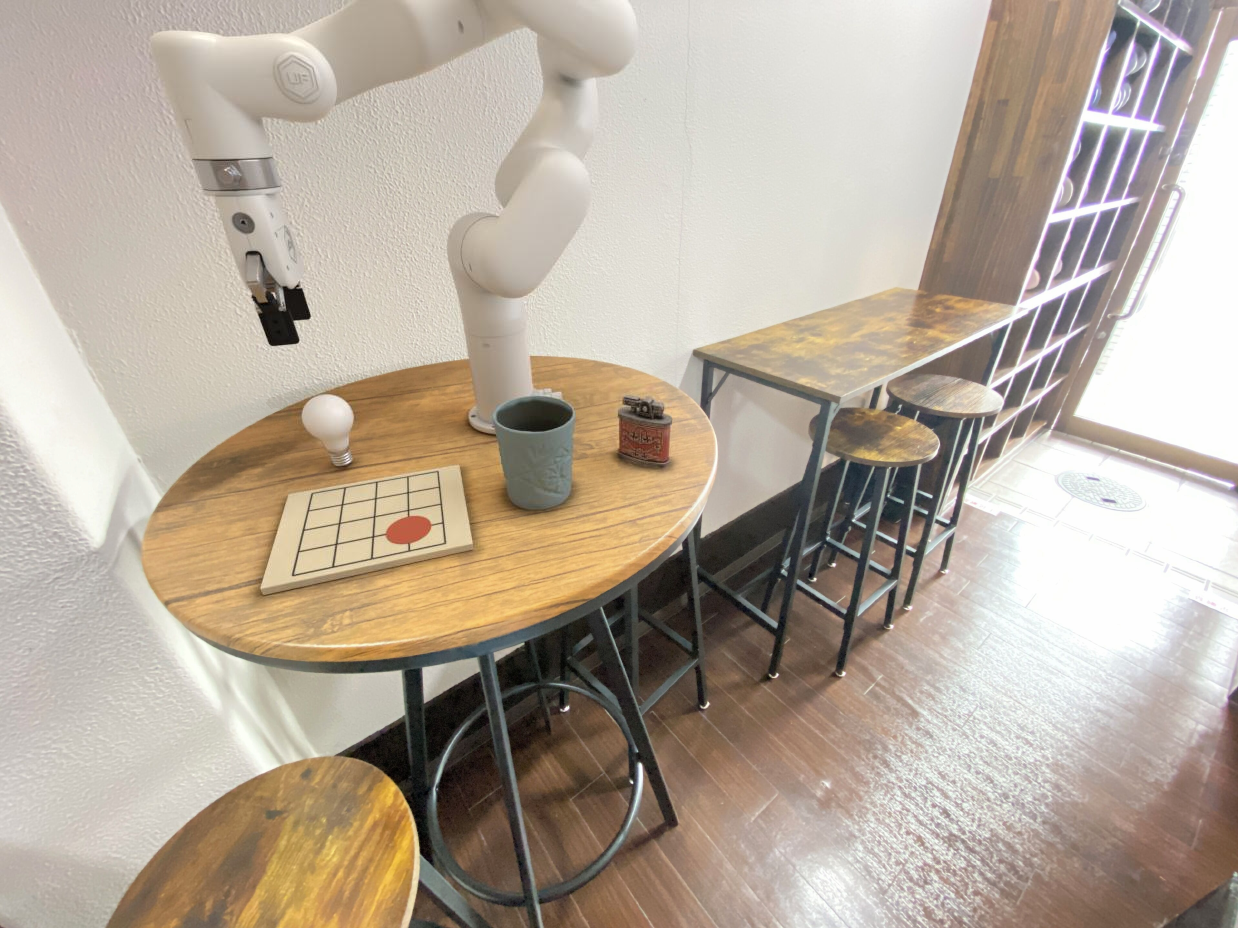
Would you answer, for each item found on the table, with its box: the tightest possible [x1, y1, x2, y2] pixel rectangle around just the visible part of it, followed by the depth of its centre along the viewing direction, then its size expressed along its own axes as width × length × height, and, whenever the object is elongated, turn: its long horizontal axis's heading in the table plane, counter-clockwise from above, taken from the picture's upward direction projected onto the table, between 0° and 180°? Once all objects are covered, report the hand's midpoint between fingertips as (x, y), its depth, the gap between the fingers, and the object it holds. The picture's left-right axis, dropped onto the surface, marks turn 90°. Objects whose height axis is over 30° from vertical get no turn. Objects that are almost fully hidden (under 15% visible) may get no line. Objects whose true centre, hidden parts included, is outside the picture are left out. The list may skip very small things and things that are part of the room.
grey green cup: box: [492, 396, 576, 511], centre depth 69 cm, size 10×10×12 cm
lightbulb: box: [301, 393, 355, 467], centre depth 75 cm, size 6×6×11 cm
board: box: [259, 464, 474, 596], centre depth 66 cm, size 22×18×1 cm
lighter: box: [617, 394, 673, 469], centre depth 77 cm, size 8×3×10 cm, turn 65°
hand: (292, 331), depth 67 cm, fingers open, 9 cm apart
